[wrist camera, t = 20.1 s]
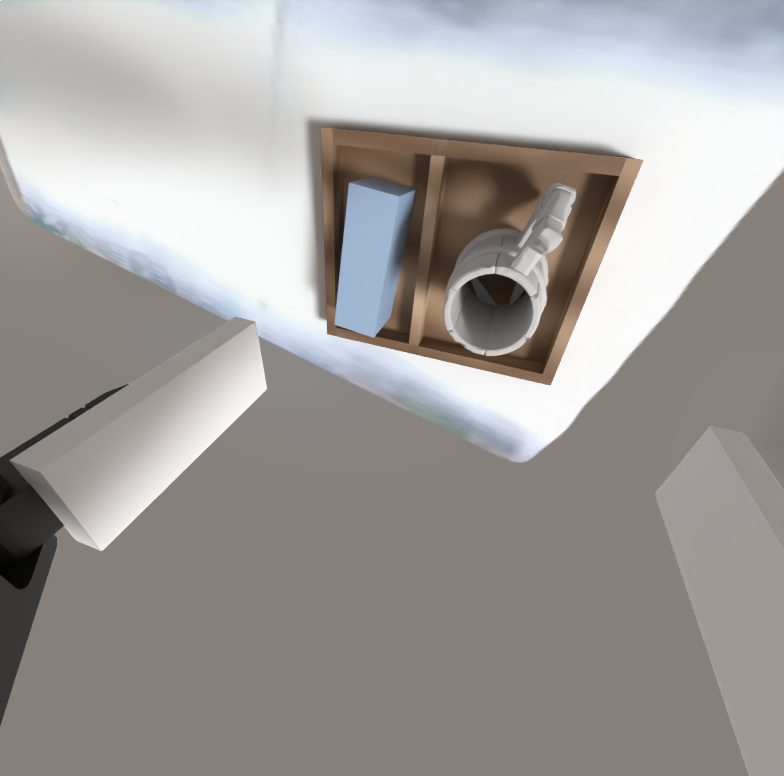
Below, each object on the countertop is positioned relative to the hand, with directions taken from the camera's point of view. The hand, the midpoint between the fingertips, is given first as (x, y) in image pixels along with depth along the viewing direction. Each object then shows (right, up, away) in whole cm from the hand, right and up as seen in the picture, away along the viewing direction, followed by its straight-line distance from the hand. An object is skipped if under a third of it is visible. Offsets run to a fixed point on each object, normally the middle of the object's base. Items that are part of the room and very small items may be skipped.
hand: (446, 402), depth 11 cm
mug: (+9, +12, +20) cm, 25 cm away
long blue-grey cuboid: (-3, +13, +23) cm, 27 cm away
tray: (+4, +12, +22) cm, 25 cm away
